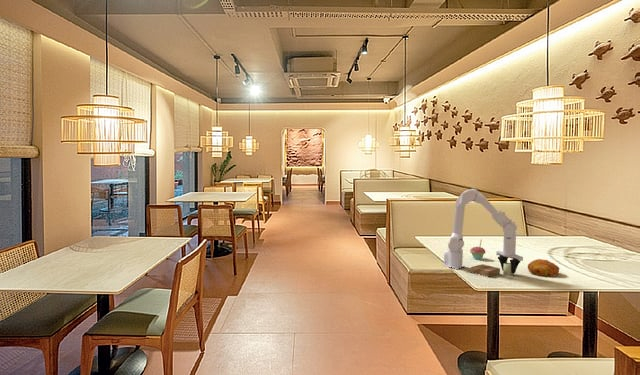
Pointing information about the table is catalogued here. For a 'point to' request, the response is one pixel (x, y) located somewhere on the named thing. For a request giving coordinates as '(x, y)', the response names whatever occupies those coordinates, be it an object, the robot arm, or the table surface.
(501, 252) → the robot arm
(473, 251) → the cupcake
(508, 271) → the sage cylinder
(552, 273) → the croissant
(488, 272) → the walnut base
